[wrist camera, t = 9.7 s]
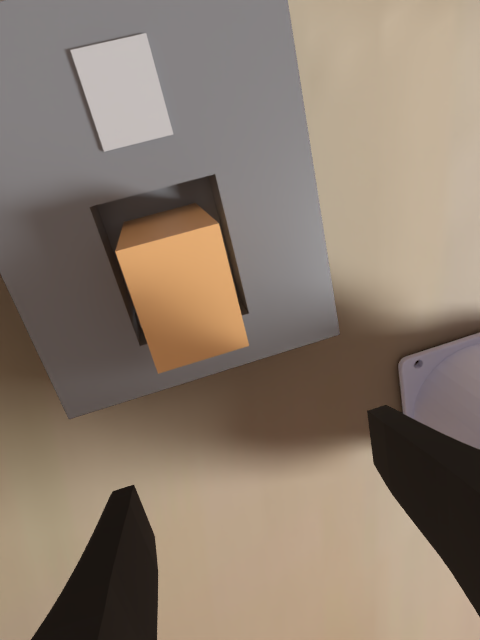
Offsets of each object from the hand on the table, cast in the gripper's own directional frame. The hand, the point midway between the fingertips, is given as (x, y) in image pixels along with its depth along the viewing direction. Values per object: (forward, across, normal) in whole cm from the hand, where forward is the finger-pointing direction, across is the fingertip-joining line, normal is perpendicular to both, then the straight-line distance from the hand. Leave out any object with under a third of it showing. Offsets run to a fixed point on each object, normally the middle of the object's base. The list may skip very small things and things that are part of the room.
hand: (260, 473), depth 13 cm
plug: (+8, +1, -5) cm, 10 cm away
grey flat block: (+9, +1, -7) cm, 12 cm away
